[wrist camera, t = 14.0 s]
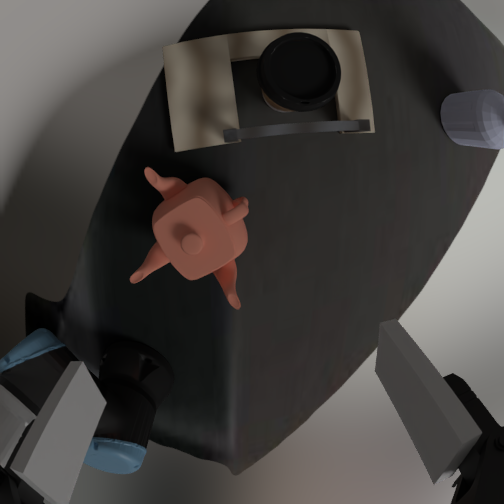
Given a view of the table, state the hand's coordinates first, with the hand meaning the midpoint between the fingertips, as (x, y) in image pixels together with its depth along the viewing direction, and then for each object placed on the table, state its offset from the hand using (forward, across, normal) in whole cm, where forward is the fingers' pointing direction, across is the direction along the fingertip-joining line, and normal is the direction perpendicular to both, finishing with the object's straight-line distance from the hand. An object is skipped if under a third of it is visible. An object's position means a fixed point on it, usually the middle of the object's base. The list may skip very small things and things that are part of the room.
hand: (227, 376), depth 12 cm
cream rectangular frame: (+32, +8, +18) cm, 38 cm away
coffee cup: (+33, +9, +16) cm, 38 cm away
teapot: (+34, -6, -1) cm, 34 cm away
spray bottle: (+32, +40, +12) cm, 52 cm away
